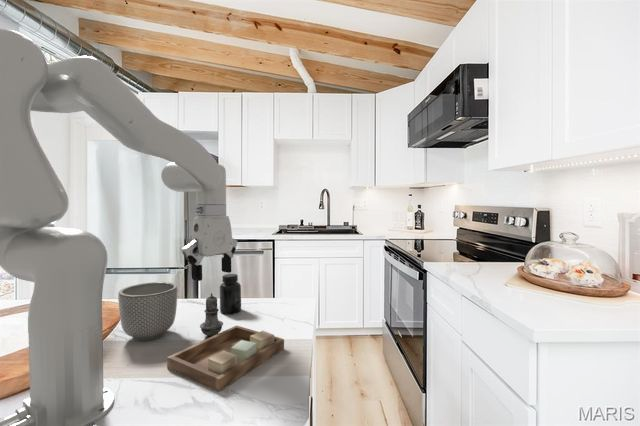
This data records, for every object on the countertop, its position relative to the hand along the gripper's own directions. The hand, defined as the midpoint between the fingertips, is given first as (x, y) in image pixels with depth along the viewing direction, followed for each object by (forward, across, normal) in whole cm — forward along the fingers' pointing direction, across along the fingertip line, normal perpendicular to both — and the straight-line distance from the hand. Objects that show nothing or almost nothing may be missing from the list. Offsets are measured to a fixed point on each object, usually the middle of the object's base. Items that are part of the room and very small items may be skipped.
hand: (212, 275), depth 82 cm
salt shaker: (+17, -1, 0) cm, 17 cm away
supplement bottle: (+17, +16, +11) cm, 26 cm away
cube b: (+16, -7, -18) cm, 25 cm away
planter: (+17, -9, +15) cm, 24 cm away
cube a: (+16, -13, -18) cm, 27 cm away
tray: (+16, -7, -13) cm, 22 cm away
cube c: (+16, -1, -18) cm, 24 cm away
